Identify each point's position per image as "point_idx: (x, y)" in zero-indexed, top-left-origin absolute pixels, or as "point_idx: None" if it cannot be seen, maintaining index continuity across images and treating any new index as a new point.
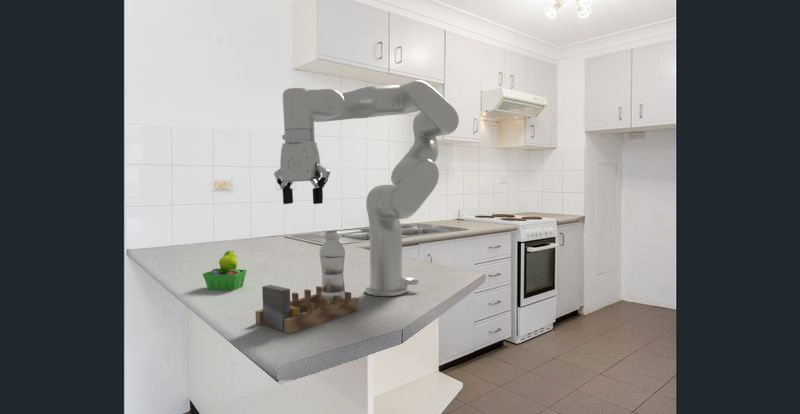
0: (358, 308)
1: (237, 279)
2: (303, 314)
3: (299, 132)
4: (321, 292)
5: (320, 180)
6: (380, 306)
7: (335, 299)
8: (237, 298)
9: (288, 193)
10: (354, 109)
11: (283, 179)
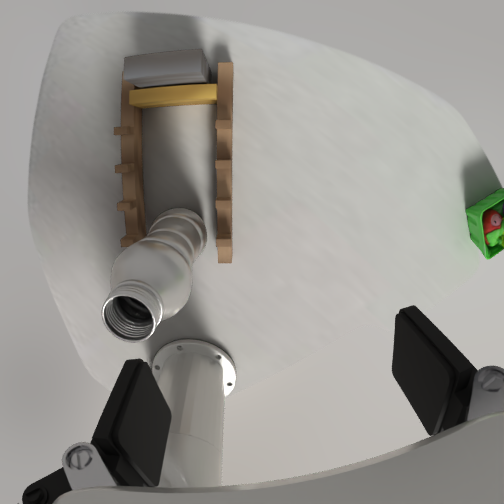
0: None
1: (476, 222)
2: (127, 110)
3: None
4: (190, 219)
5: (50, 496)
6: None
7: (124, 201)
8: (419, 169)
9: (426, 384)
10: None
11: (496, 420)
